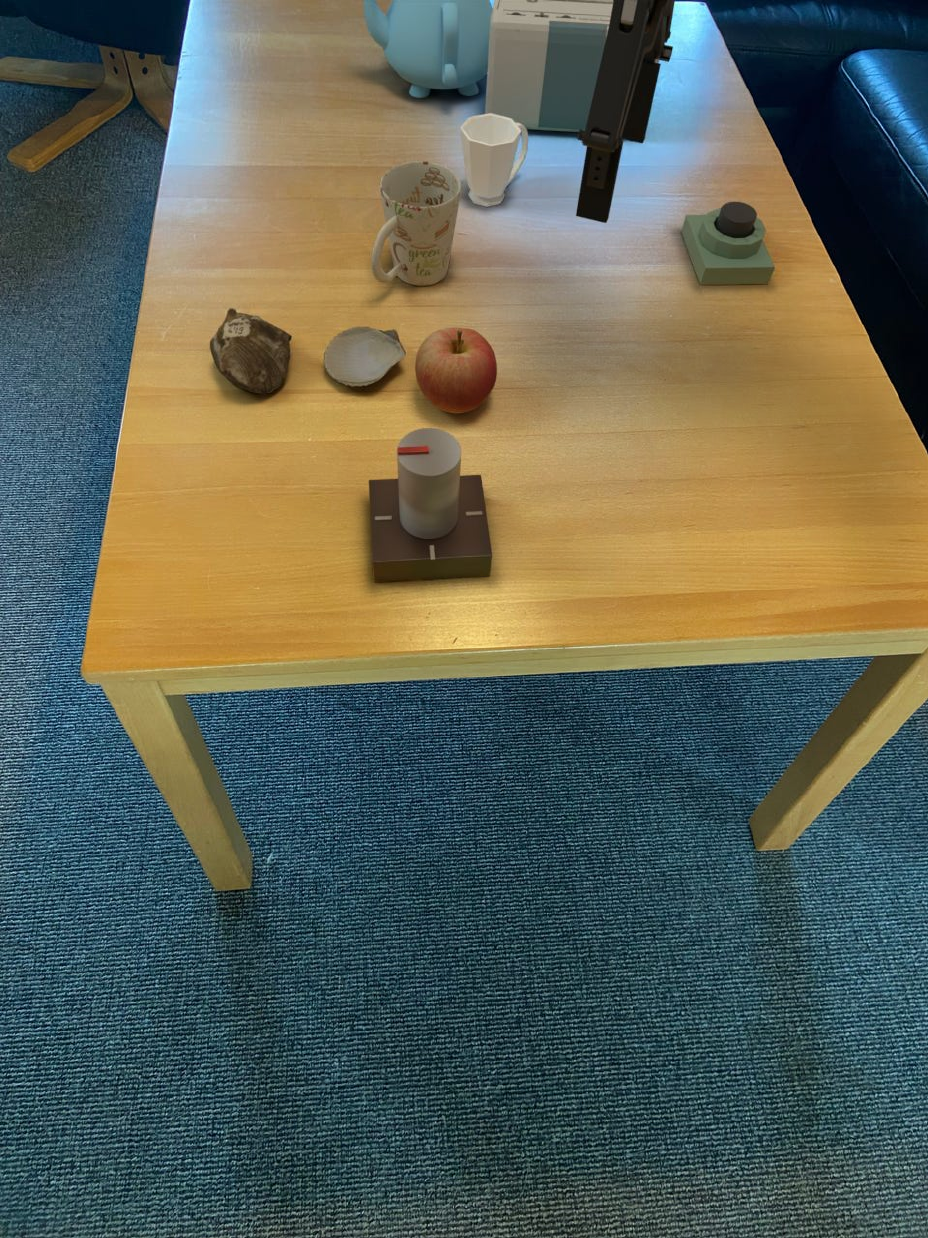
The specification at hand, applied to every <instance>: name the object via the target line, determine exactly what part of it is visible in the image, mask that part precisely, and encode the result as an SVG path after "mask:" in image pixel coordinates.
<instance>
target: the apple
mask: <svg viewBox="0 0 928 1238" xmlns="http://www.w3.org/2000/svg"><path fill="white" fill-rule="evenodd" d="M414 372H415V377H416V382H417V384H418V387H419V390H420V391H421V393H422V395H423V396H424V398H426V399H427V400H428V402H429V403H431V405H433V406H434V407H435V408H437V409H438V410H440V411H443V412H447V413H451V414H463V413H468V412H470V411H474V410H475V409H477V408H478V407H479V406H481V405H482V404H483V403H484V401H485V400H486V399H487V398H488V397H489V395H490V394H491V393H492V391H493V390H494V387H495V385H496V382H497V378H498V377H497V376H498V364H497V358H496V354H495V351H494V348H493V346H492V345H491V344H490V343H489V341H488V340H487V338H485V337H484V336H483V335H482V334H481V333H479V332H478V330H477V331H476V330H474V329H471V328H466V327H465V328H464V327H456V326H455V327H448V328H447V327H446V328H442V329H437V330H436V331H434V332H432V333H431V334H429V335H428V336H427V337H426V338H425V339H424V340H423V341H422V343H421V344H420V346H419V348H418V351H417V353H416V357H415V362H414Z"/></svg>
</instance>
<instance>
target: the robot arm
mask: <svg viewBox="0 0 928 1238" xmlns="http://www.w3.org/2000/svg"><path fill="white" fill-rule="evenodd" d="M675 2H676V0H613V7H612V12H611V18H610V23H609V28H608V33H607V37H606V42H605V46H604V50H603V55H602V59H601V63H600V68H599V72H598V76H597V81H596V85H595V90H594V94H593V98H592V103H591V107H590V111H589V116H588V120H587V124H586V129H585V130H579V132H578V135H577V140H578V141H581V143H582V146H583V147H586V149H585V155H584V163H583V168H582V176H581V181H580V187H579V193H578V200H577V205H576V212H575V216H576V217H579V218H582V219H588V220H591V221H595V222H600V223H603V224H607V222H608V221H609V217H610V212H611V207H612V201H613V196H614V191H615V187H616V181H617V176H618V171H619V166H620V162H621V161H620V160H621V158H622V157H621V156H622V152H623V146H624V141H630V142H634V143H638V144H643V143H644V142H645V139H646V135H647V130H648V125H649V121H650V116H651V111H652V108H653V107H652V106H653V102H654V98H655V93H656V89H657V84H658V79H659V74H660V69H661V65H662V63H655V60H656V59H657V60H659V61H662V62H665V63H669V62H670V61H671V57H672V53H673V50H674V46H672V45H668V44H667V43H668V41H669V39H670V38H671V35H672V31H671V30H672V29H671V28H672V23H673V22H672V21H673V15H674V8H675Z"/></svg>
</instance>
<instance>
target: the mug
mask: <svg viewBox="0 0 928 1238" xmlns="http://www.w3.org/2000/svg"><path fill="white" fill-rule="evenodd" d="M379 190H380V191H379V192H380V198H381V203H382V209H383V213H384V219H385V223H384V224H383V226H382V227H381V228H380V230H379V231H378V233H377V236H376V238H375V241H374V243H373V247H372V248H373V249H372V253H371V261H370V262H371V264H370V265H371V271H372V274H373V276H374V278H375V280H377V281H378V282H379V283H389V282H391V281H392V282H393V280H394V279H395V278H396V277H397V278H399V280H401V281H402V282H404V283H406V284H408V285H413V286H420V287H426V286H432V285H434V284H437V283H439V282H441V281H443V279H444V278H445V277H446V275H447V273H448V270H449V265H450V260H451V254H452V248H453V247H452V246H453V243H454V236H455V231H456V230H455V229H456V223H457V218H458V210H459V206H460V200H461V193H462V192H461V191H462V184H461V180H460V178H459V177H458V174H456V172H455V171H453V170H452V169H451V168H449V167H446V166H445V165H442V164H440V163H435V162H431V161H424V160H423V161H421V160H420V161H419V160H417V161H416V160H415V161H406V162H403V163H398V164H396V165H394V166H391V168H389V169H388V170H386V171H385V172H384V174H382V176H381V179H380V181H379ZM387 239H388V242H389V247H390V254H391V259H392V264H393V268H391V269H390V270H389V271H388V272H385V270H384V269H383V267H382V264H381V261H382V254H383V250H384V249H383V248H384V246H385V243H386V242H387V241H386V240H387Z"/></svg>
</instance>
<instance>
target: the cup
mask: <svg viewBox="0 0 928 1238" xmlns="http://www.w3.org/2000/svg"><path fill="white" fill-rule="evenodd" d="M459 128H460V129H459V130H460V139H461V147H462V155H463V166H464V167H463V169H464V173H465V178H466V182H467V187H468V188H469V189H470V190H469V192H468V197H469V198H470V200H471V201H472V203H473V204H475V205H477V206H478V205H479V206H482V207H486V208H489V207H494V206H498V205H500V204H501V203H502V201H503V200H504V199H505V197H506V195H505V194H506V193H504V191H505V190H506V189H507V186H508V185H509V184H510V183H511V182H512V180H513V179H514V178H515V176H516V175H517V173H518V172H519V170H520V169H521V167H522V165H523V164H524V161H525V159H526V156H527V152H528V149H529V133H528V129H526V128H525V126H524V125H522V124H520V123H515V122H514V121H513V119H511V118H507V117H503V116H500V115H496V114H492V113H488V114H485V113H482V114H477V115H473V116H469V117H468V118H467V119H466V120H465V121H464V122H463V124H462V125H461V126H460V127H459ZM520 139H521V148H520V152H519V155H518V156H517V159H516V154H517V152H518V151H517V150H518V147H519V144H520ZM515 159H516V160H515Z"/></svg>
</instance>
